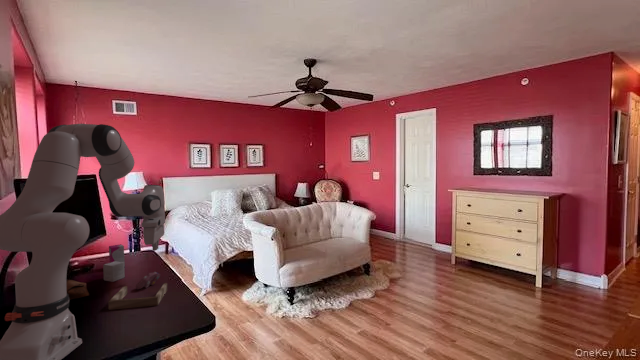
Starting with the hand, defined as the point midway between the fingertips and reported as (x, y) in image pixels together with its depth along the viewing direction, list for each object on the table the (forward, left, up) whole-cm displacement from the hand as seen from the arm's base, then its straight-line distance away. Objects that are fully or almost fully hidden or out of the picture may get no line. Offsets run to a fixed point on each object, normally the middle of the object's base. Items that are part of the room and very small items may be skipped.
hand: (155, 249), depth 151 cm
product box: (+5, +19, -14) cm, 24 cm away
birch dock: (-24, 0, -14) cm, 28 cm away
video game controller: (-9, +1, -14) cm, 17 cm away
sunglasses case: (-9, +29, -14) cm, 33 cm away
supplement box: (+23, +24, -14) cm, 36 cm away
